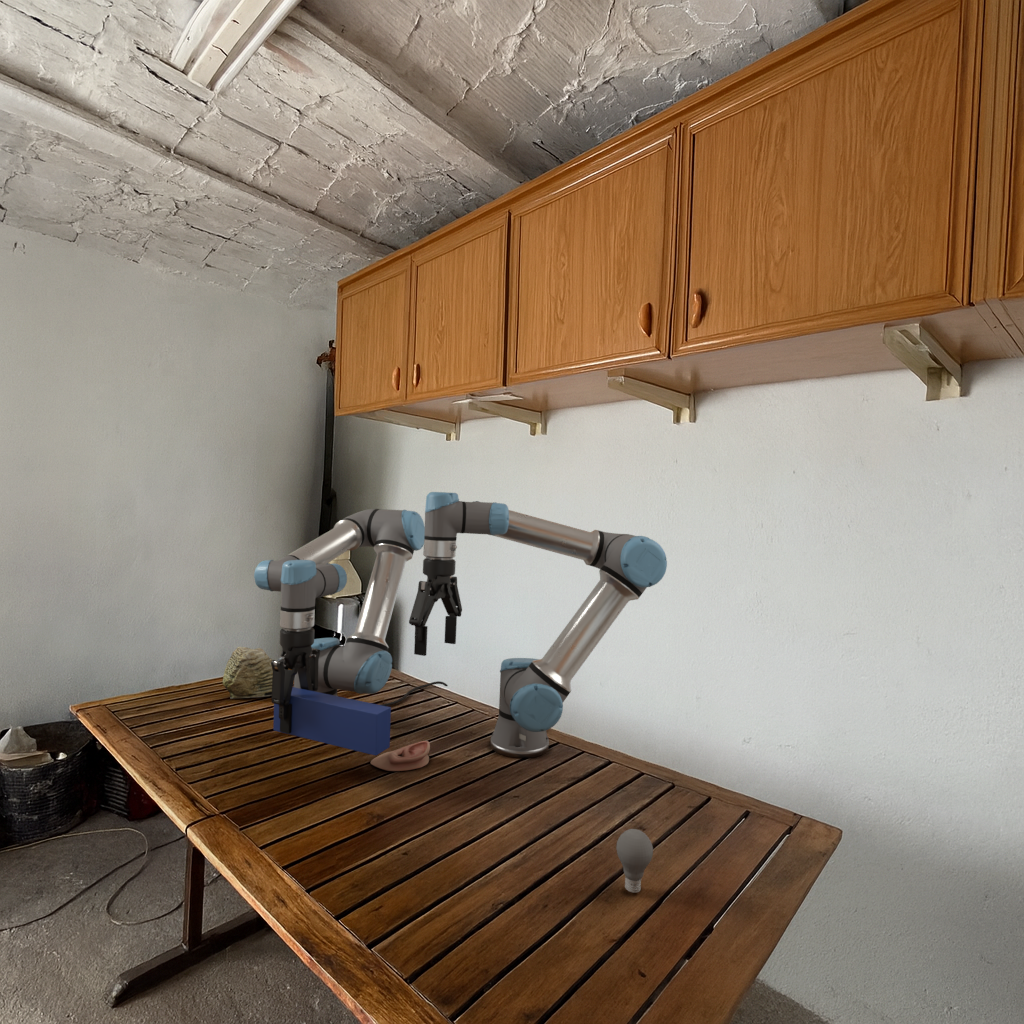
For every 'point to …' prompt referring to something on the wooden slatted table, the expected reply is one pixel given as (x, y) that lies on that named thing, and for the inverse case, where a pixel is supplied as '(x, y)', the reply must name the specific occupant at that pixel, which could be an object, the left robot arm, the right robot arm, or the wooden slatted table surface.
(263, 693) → the fossil
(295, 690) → the bar
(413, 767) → the anatomical model
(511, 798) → the wooden slatted table surface
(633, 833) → the light bulb
